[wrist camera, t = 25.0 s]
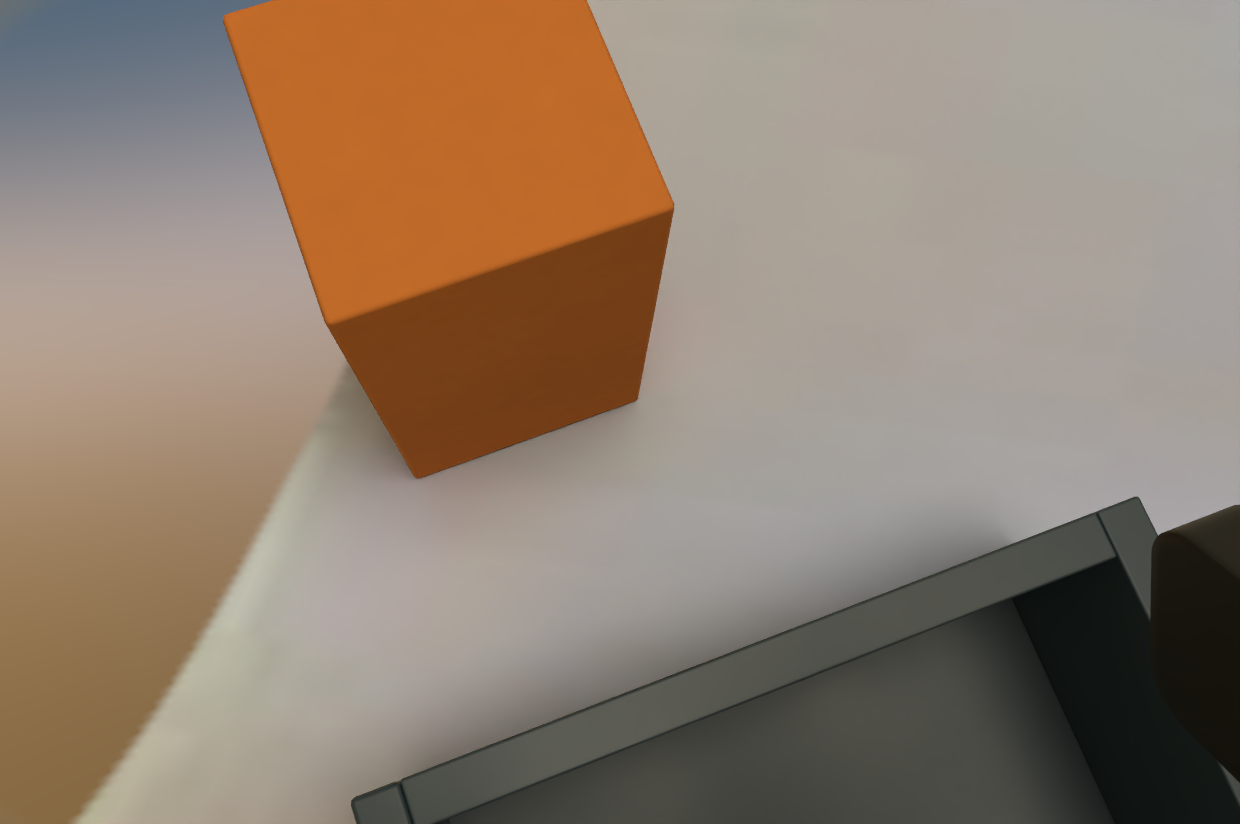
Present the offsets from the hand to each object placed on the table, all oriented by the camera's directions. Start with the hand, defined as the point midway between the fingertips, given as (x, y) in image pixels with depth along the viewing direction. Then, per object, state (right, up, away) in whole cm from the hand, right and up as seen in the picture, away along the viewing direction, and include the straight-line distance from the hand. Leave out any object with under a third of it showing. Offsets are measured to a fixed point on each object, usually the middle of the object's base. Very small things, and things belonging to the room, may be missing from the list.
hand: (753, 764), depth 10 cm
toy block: (-4, +5, +15) cm, 17 cm away
